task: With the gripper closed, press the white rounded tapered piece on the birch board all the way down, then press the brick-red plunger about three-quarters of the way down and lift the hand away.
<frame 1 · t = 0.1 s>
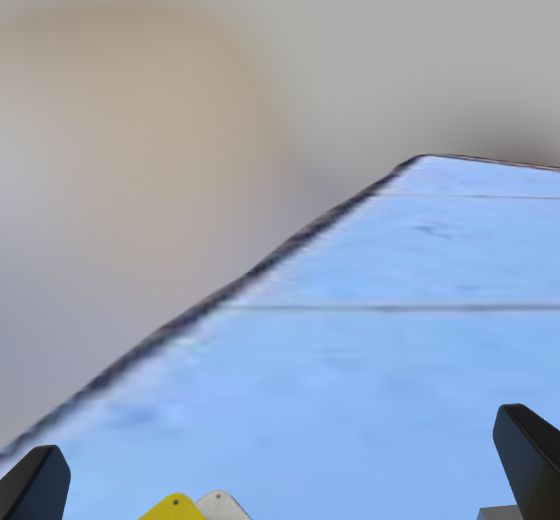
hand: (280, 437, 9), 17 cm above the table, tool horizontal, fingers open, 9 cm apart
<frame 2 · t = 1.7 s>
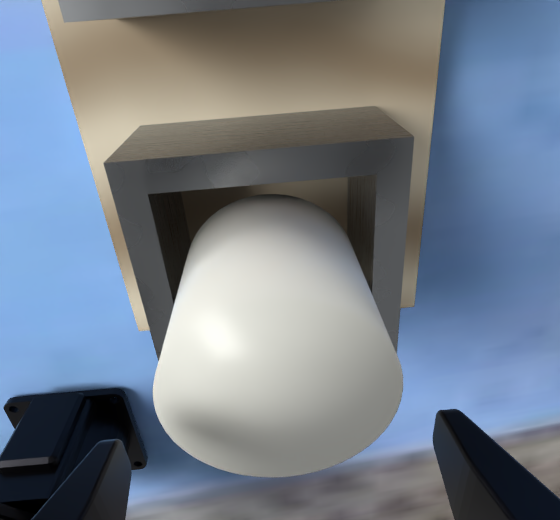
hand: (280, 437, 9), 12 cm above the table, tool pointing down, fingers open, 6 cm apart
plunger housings: (253, 73, 13), on the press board, point 4 cm above the table
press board: (253, 60, 16), on the table
white rounded tapered piece: (274, 324, 12), point 8 cm above the table, slide at 0.0 cm
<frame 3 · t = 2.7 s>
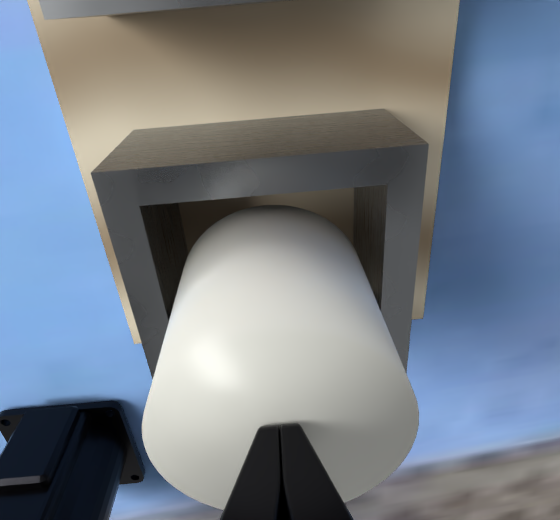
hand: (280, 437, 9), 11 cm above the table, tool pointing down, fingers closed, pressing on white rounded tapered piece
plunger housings: (253, 74, 12), on the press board, point 4 cm above the table
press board: (254, 60, 15), on the table
white rounded tapered piece: (276, 346, 11), point 8 cm above the table, slide at 0.0 cm, touching gripper
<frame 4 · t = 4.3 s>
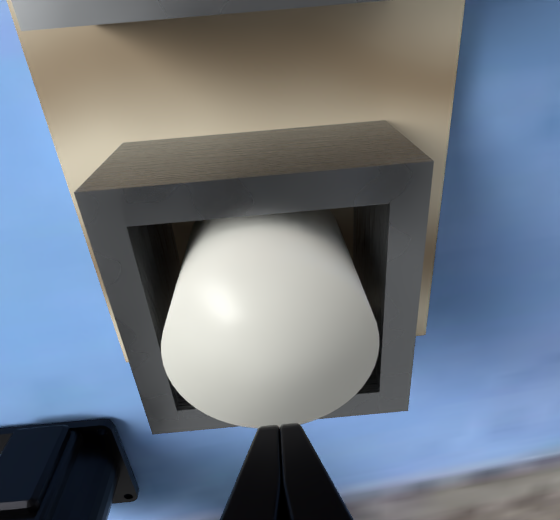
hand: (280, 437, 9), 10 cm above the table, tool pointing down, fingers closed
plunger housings: (247, 86, 12), on the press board, point 4 cm above the table
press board: (249, 69, 15), on the table
white rounded tapered piece: (268, 294, 14), point 5 cm above the table, slide at 3.6 cm
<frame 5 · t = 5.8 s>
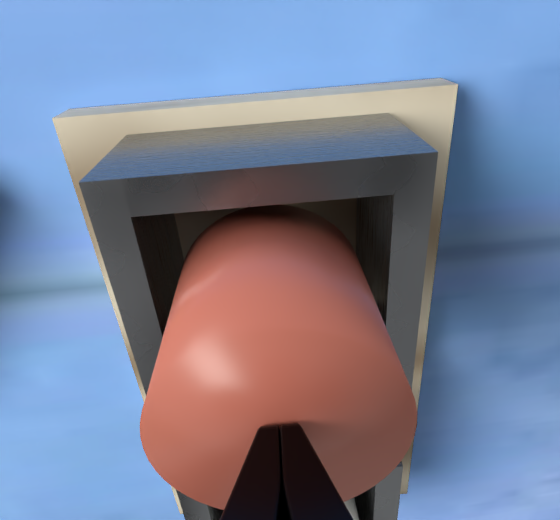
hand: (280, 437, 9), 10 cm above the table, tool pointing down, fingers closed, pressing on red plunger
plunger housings: (282, 398, 18), on the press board, point 4 cm above the table
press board: (278, 337, 21), on the table
white rounded tapered piece: (293, 508, 20), point 5 cm above the table, slide at 3.6 cm
red plunger: (275, 346, 11), point 7 cm above the table, slide at 0.8 cm, touching gripper
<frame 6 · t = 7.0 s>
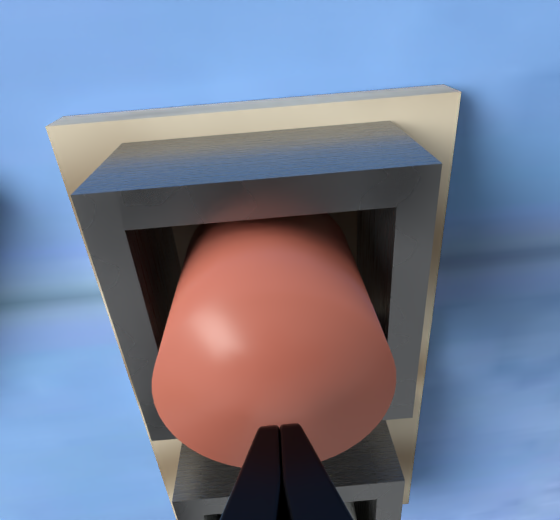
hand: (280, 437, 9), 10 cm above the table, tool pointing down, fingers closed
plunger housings: (282, 410, 17), on the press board, point 4 cm above the table
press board: (277, 346, 20), on the table
red plunger: (271, 320, 12), point 6 cm above the table, slide at 2.5 cm
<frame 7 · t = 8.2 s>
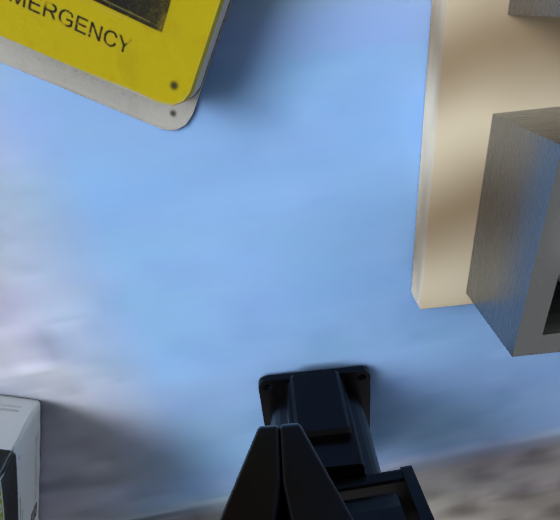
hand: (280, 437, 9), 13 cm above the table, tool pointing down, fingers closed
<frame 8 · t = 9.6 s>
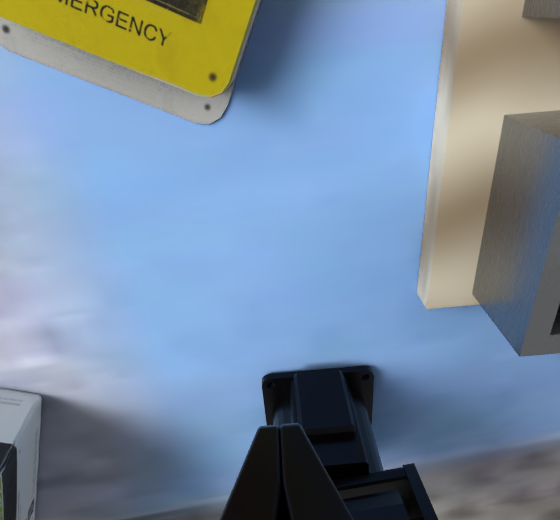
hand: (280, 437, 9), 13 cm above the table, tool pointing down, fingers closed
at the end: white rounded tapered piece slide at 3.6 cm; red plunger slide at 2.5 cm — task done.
